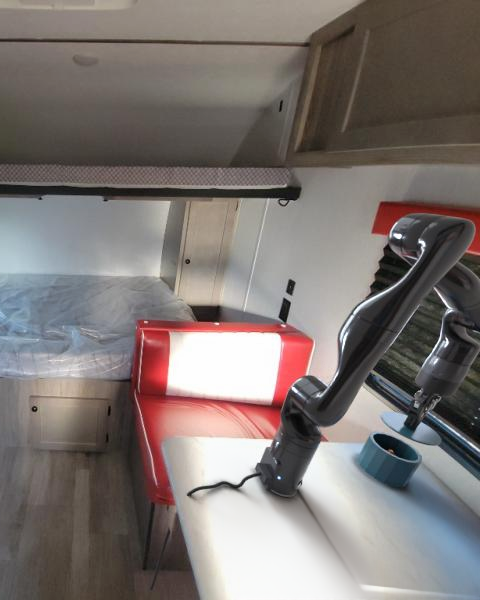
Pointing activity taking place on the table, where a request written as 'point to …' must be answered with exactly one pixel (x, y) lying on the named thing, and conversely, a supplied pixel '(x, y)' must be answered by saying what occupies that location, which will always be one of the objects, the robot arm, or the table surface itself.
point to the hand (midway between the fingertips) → (410, 425)
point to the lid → (417, 434)
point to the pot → (389, 459)
